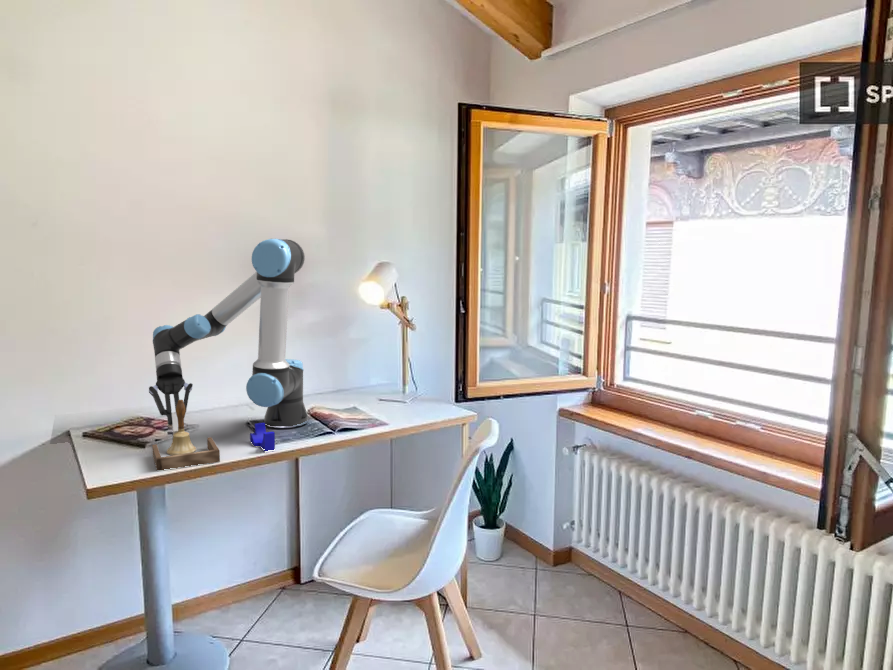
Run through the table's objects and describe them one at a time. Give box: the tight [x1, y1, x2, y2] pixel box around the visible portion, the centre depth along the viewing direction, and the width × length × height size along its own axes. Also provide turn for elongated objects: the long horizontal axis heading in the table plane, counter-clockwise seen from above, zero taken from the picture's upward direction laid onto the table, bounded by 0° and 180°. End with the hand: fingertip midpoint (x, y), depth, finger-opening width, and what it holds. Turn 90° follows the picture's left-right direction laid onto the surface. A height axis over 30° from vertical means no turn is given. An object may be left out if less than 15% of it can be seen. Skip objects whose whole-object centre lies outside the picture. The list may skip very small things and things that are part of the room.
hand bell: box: [166, 399, 197, 456], centre depth 177 cm, size 8×8×16 cm
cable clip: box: [249, 422, 276, 452], centre depth 184 cm, size 12×4×6 cm, turn 32°
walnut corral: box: [151, 436, 221, 471], centre depth 171 cm, size 16×13×4 cm
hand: (176, 433), depth 179 cm, fingers closed
